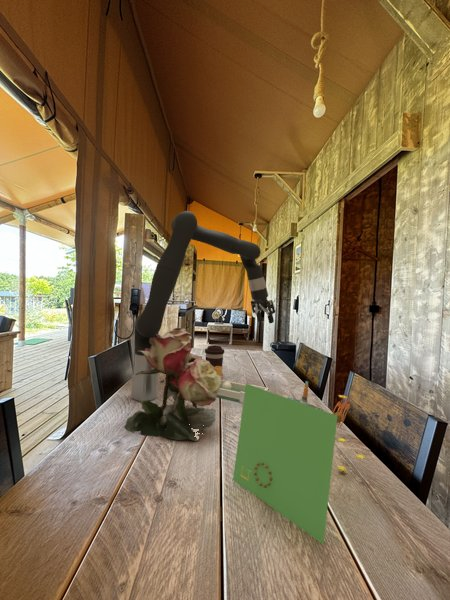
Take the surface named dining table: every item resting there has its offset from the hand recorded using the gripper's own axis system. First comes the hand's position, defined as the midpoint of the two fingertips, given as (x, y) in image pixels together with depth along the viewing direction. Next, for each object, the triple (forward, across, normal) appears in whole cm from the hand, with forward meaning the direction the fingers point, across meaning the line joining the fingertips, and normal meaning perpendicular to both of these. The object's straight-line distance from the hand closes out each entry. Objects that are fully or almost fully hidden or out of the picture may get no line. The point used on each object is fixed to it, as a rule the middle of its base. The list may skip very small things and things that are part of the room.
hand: (265, 322), depth 131 cm
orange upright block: (+20, -2, -31) cm, 37 cm away
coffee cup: (+23, -23, -23) cm, 40 cm away
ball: (+19, +2, -28) cm, 34 cm away
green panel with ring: (+21, +58, -40) cm, 73 cm away
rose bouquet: (+15, +17, -54) cm, 59 cm away
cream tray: (+23, +6, -26) cm, 35 cm away
